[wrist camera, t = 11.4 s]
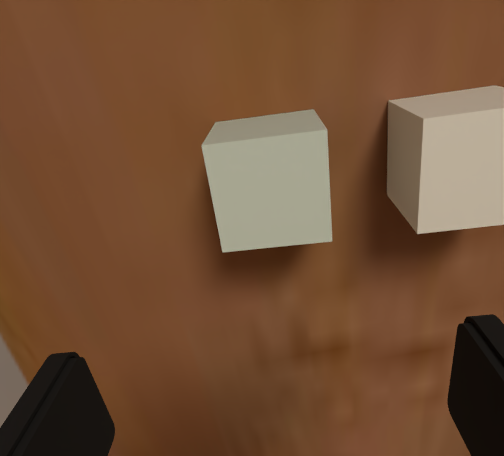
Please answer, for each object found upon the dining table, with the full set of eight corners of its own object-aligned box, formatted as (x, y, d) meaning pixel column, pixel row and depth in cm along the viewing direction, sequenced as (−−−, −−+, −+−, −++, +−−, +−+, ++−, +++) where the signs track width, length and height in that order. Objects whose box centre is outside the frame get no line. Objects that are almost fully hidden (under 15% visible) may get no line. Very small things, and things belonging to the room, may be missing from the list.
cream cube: (494, 85, 23) (563, 99, 18) (481, 183, 26) (537, 220, 21) (388, 100, 24) (423, 118, 18) (386, 194, 27) (417, 234, 21)
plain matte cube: (313, 109, 24) (327, 129, 19) (319, 201, 27) (332, 241, 22) (215, 122, 25) (201, 145, 19) (231, 210, 28) (222, 252, 22)
